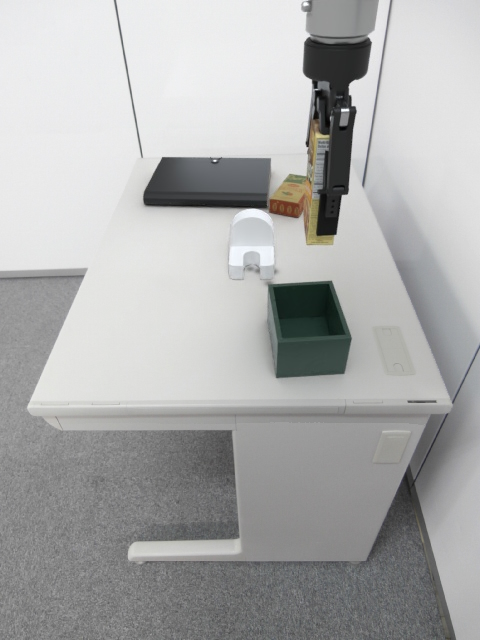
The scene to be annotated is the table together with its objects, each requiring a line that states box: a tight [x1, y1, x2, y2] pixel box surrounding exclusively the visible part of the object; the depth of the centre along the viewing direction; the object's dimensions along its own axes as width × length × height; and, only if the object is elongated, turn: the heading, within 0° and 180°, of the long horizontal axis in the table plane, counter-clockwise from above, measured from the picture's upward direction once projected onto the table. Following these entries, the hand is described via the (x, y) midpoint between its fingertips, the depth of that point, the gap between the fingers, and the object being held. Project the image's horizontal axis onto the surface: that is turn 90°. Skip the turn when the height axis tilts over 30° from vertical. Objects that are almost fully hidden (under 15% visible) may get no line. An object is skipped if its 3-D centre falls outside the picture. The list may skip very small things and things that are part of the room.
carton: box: [268, 173, 306, 218], centre depth 117 cm, size 8×16×4 cm, turn 156°
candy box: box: [302, 116, 335, 246], centre depth 61 cm, size 9×4×15 cm, turn 177°
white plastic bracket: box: [228, 208, 275, 280], centre depth 97 cm, size 10×18×11 cm, turn 178°
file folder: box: [142, 156, 272, 208], centre depth 125 cm, size 33×4×24 cm
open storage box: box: [266, 280, 353, 379], centre depth 76 cm, size 15×12×9 cm
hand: (319, 216), depth 64 cm, fingers closed on candy box, 9 cm apart
